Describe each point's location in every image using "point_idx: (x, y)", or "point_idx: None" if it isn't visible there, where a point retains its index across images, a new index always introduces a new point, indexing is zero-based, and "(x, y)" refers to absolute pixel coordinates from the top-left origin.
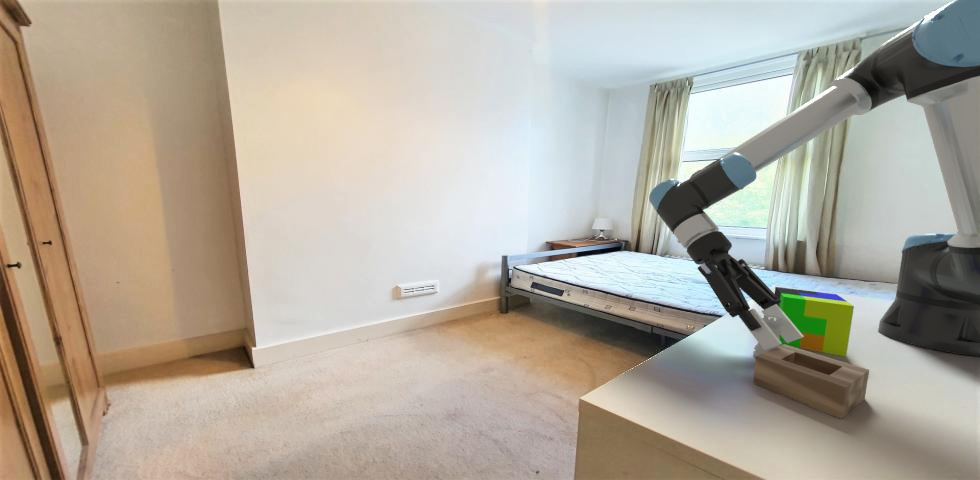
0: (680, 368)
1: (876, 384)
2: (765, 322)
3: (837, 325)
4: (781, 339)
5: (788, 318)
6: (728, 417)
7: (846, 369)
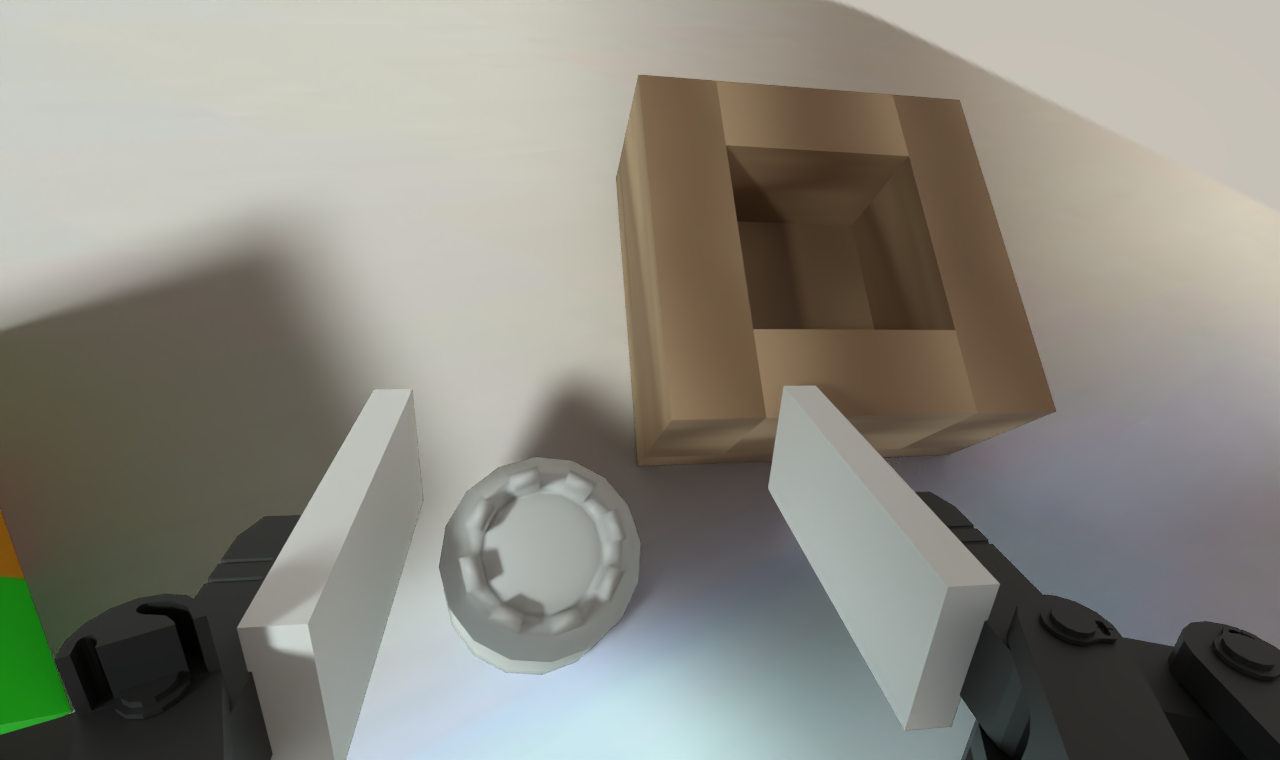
0: None
1: (371, 177)
2: (637, 576)
3: None
4: (31, 698)
5: (330, 482)
6: (1249, 376)
7: (750, 128)
